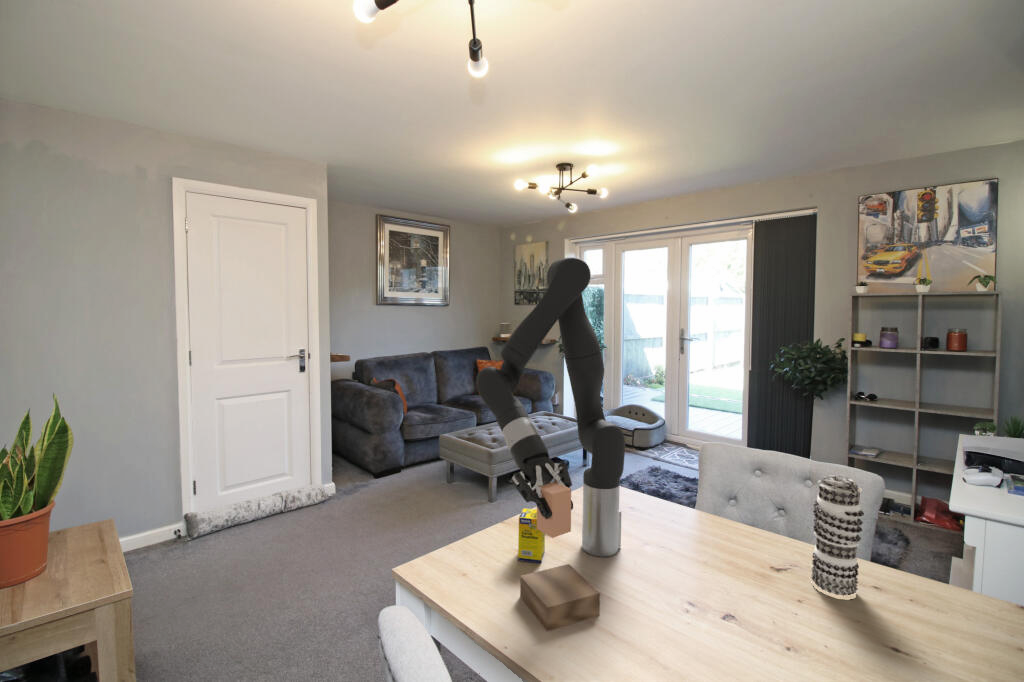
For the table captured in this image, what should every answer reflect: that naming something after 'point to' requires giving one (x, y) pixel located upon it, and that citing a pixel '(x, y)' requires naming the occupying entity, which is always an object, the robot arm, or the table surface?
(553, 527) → the terracotta block
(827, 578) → the decorative candle
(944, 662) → the table surface
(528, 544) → the supplement box
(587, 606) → the walnut block
